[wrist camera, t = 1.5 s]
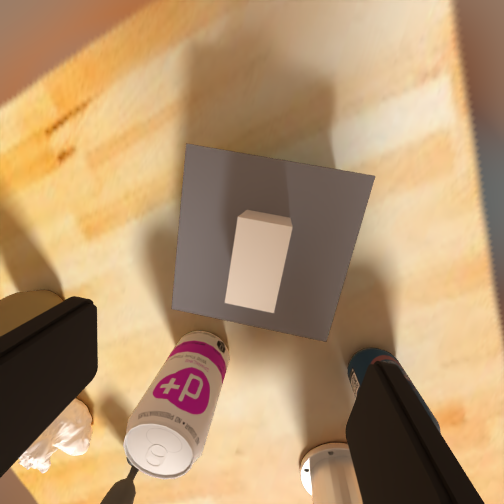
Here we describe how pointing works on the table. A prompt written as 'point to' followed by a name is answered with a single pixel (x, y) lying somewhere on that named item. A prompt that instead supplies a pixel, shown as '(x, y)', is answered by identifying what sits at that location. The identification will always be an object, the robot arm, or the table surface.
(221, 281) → the lid
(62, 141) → the table surface
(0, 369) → the robot arm
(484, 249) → the table surface
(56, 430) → the white tied bag
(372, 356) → the soda can
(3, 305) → the squeeze bottle
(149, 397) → the supplement can
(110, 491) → the sundae
